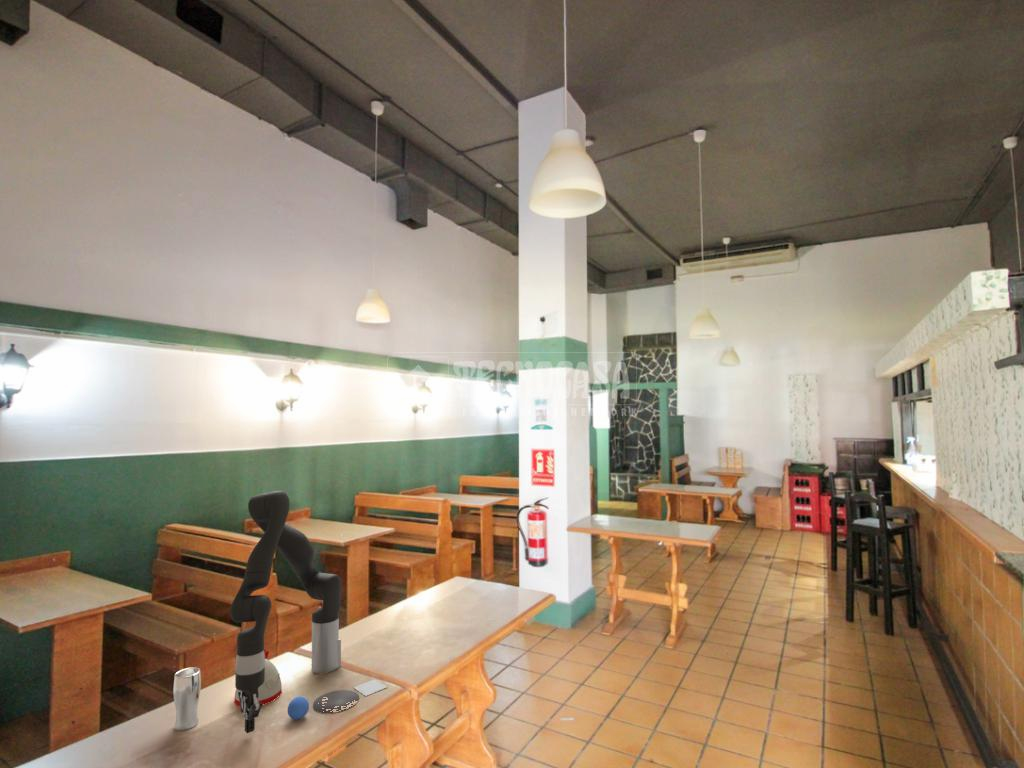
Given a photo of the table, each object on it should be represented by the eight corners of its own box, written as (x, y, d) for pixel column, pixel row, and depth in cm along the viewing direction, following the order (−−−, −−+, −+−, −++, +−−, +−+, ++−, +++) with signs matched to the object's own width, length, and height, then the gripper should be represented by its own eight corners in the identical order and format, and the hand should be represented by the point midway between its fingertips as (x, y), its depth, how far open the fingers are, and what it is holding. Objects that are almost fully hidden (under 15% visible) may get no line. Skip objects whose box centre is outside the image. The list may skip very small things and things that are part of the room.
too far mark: (375, 679, 183) (375, 679, 183) (387, 687, 178) (387, 687, 178) (353, 688, 178) (353, 687, 178) (365, 696, 172) (365, 695, 172)
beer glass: (180, 734, 153) (181, 680, 154) (167, 727, 157) (169, 674, 158) (204, 722, 159) (205, 670, 160) (192, 716, 163) (193, 665, 164)
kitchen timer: (224, 704, 169) (225, 655, 170) (256, 683, 183) (257, 638, 184) (260, 710, 165) (260, 660, 166) (290, 688, 178) (291, 642, 180)
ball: (308, 696, 165) (291, 691, 162) (315, 702, 161) (298, 697, 158) (298, 717, 163) (280, 713, 160) (305, 724, 158) (288, 720, 155)
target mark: (346, 686, 179) (346, 685, 179) (367, 701, 169) (367, 700, 169) (305, 702, 169) (305, 701, 170) (325, 718, 160) (325, 718, 160)
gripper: (272, 670, 150) (271, 734, 149) (255, 656, 160) (255, 716, 159) (244, 680, 145) (243, 746, 144) (228, 664, 155) (227, 727, 153)
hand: (249, 731), depth 151 cm, fingers closed
